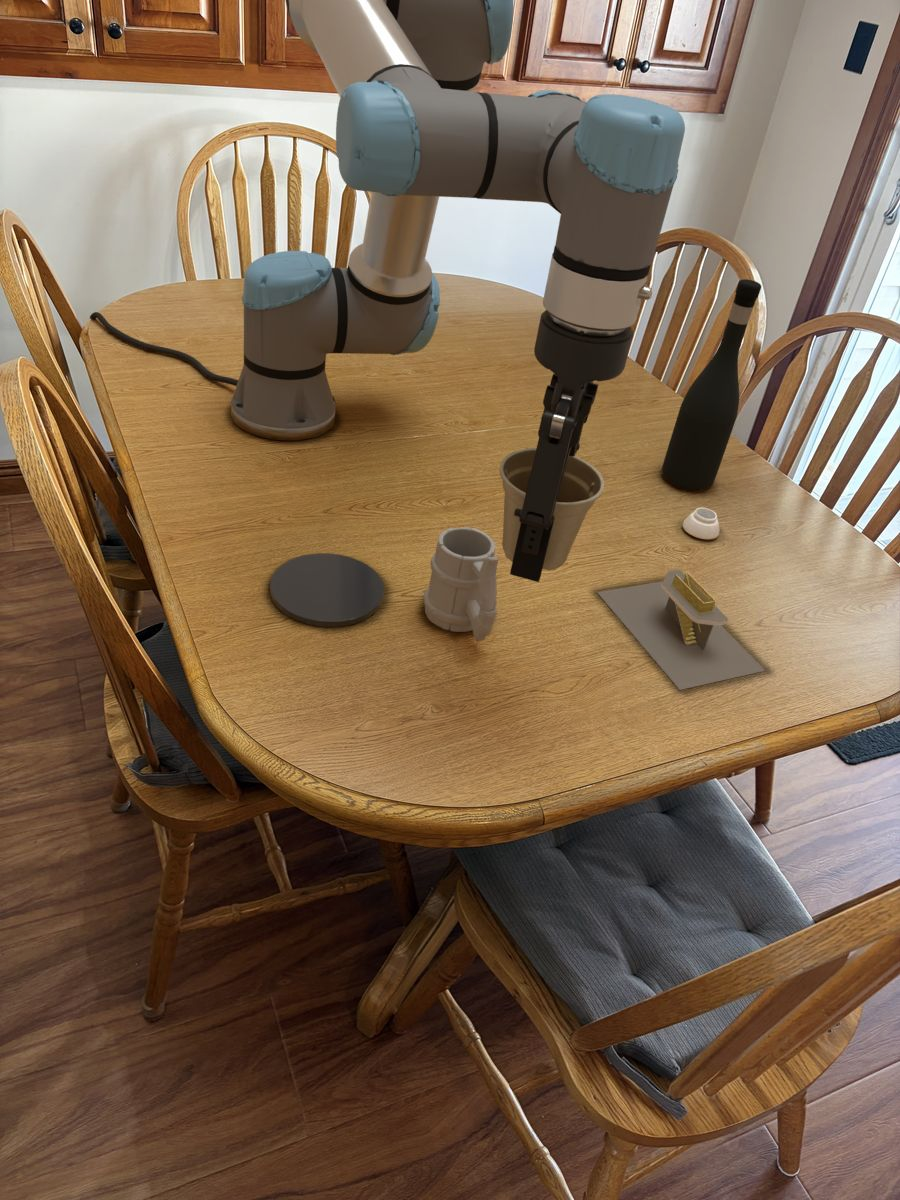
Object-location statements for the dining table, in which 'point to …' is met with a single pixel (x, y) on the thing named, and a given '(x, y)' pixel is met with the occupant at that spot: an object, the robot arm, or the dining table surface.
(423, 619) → the dining table surface
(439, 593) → the mug
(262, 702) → the dining table surface
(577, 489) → the flower pot
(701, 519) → the small white bowl
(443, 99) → the robot arm
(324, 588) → the coaster
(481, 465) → the dining table surface
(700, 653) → the platform
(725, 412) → the wine bottle
